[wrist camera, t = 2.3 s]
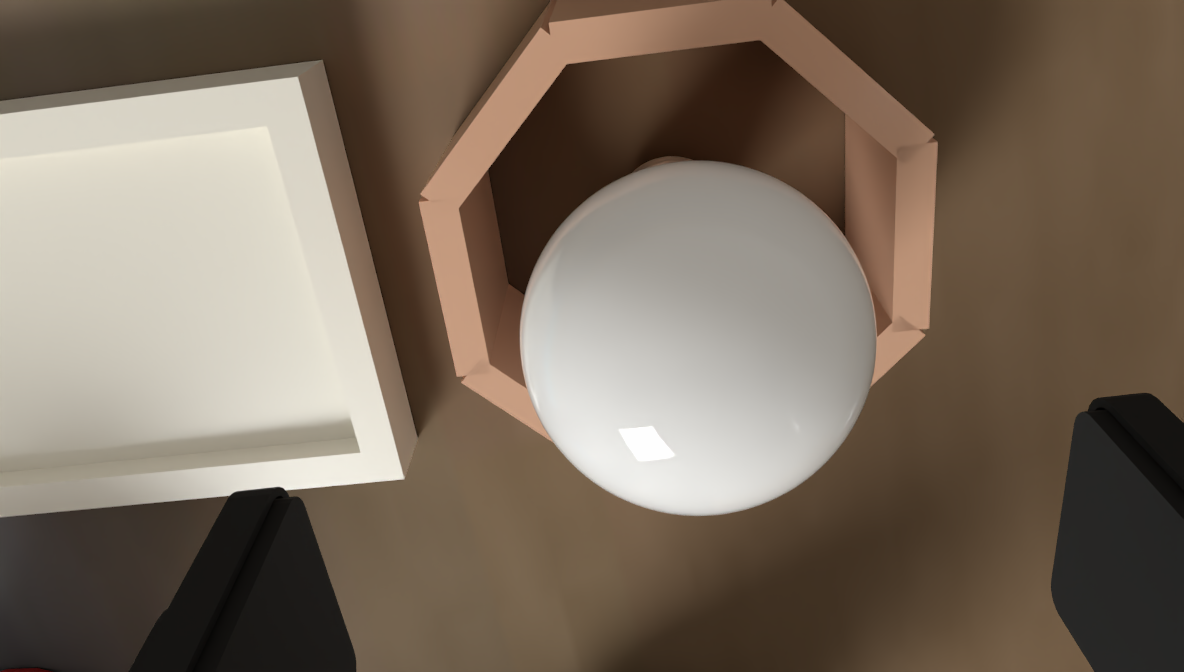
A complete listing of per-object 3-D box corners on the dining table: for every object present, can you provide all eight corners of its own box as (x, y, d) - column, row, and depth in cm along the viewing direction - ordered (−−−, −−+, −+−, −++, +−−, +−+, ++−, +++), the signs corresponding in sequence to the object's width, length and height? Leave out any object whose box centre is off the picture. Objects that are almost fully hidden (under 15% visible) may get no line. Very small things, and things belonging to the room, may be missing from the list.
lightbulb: (503, 137, 23) (426, 338, 13) (743, 29, 22) (854, 163, 12) (605, 343, 26) (604, 638, 16) (824, 257, 24) (971, 521, 15)
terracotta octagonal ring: (881, -49, 21) (946, -29, 17) (873, 358, 26) (922, 448, 22) (424, 10, 22) (383, 44, 18) (500, 395, 26) (481, 489, 22)
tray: (322, 60, 22) (297, 76, 20) (417, 438, 27) (404, 479, 25) (-217, 128, 23) (-285, 150, 21) (-30, 482, 28) (-73, 524, 26)
